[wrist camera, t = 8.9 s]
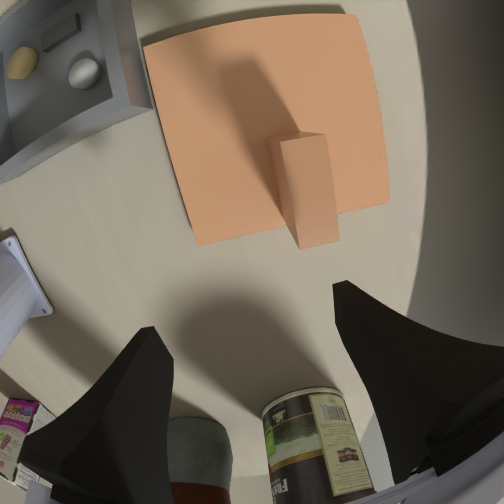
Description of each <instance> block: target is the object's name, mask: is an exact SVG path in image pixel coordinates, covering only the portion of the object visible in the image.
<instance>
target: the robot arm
mask: <svg viewBox="0 0 504 504" xmlns="http://www.w3.org/2000/svg"><path fill="white" fill-rule="evenodd" d="M332 286H333V298H334V311H335V324H336V326H337V329H338V332H339V334H340V337H341V340H342V342H343V345H344V347H345V348H346V350H347V352H348V354H349V356H350V358H351V360H352V362H353V364H354V366H355V368H356V370H357V371H358V373H359V375H360V377H361V379H362V381H363V383H364V385H365V387H366V389H367V392H368V394H369V396H370V399H371V402H372V405H373V407H374V410H375V413H376V416H377V419H378V422H379V425H380V428H381V431H382V435H383V439H384V442H385V446H386V450H387V453H388V457H389V462H390V466H391V471H392V476H393V480H394V483H395V486H393V487H390V488H388V489H385V490H383V491H380V492H378V493H375V494H372V495H369V496H367V497H364V498H361V499H358V500H355V501H352V502H348V503H345V504H397V503H399V502H401V503H400V504H497V503H498V502H499V501H500V500H501V499H502V498H503V497H504V347H501V346H494V345H486V344H480V343H476V342H471V341H467V340H463V339H460V338H456V337H453V336H450V335H447V334H444V333H441V332H438V331H435V330H433V329H430V328H428V327H426V326H424V325H421V324H419V323H417V322H415V321H413V320H410V319H409V318H407V317H405V316H403V315H401V314H399V313H398V312H396V311H394V310H392V309H391V308H389V307H387V306H386V305H384V304H382V303H381V302H379V301H378V300H376V299H375V298H373V297H372V296H370V295H369V294H367V293H366V292H364V291H363V290H361V289H360V288H358V287H357V286H355V285H354V284H352V283H351V282H349V281H348V280H345V281H342V282H338V283H335V284H332ZM52 313H53V308H52V306H51V304H50V303H49V301H48V299H47V298H46V296H45V294H44V292H43V291H42V289H41V287H40V285H39V283H38V281H37V280H36V278H35V276H34V274H33V272H32V270H31V268H30V266H29V264H28V262H27V260H26V257H25V255H24V253H23V251H22V249H21V247H20V244H19V242H18V240H17V238H16V236H14V235H12V236H10V237H8V238H6V239H4V240H3V241H1V242H0V360H1V358H2V356H3V355H4V353H5V352H6V350H7V349H8V347H9V346H10V344H11V343H12V341H13V340H14V338H15V337H16V335H17V334H18V332H19V331H20V330H21V328H22V327H23V325H24V324H25V323H26V321H27V320H28V319H29V318H35V317H40V316H46V315H51V314H52ZM173 379H174V359H173V358H172V356H171V354H170V353H169V351H168V349H167V348H166V346H165V345H164V343H163V341H162V340H161V338H160V336H159V334H158V333H157V331H156V329H155V328H154V326H151V327H145V328H141V329H140V330H139V331H138V332H137V333H136V334H135V335H134V337H133V338H132V339H131V340H130V342H129V343H128V344H127V345H126V347H125V348H124V349H123V350H122V352H121V353H120V354H119V355H118V357H117V358H116V359H115V360H114V362H113V363H112V364H111V365H110V367H109V368H108V369H107V370H106V371H105V373H104V374H103V375H102V376H101V377H100V378H99V380H98V381H97V382H96V383H95V384H94V385H93V386H92V387H91V388H90V389H89V390H88V391H87V392H86V393H85V394H84V395H83V396H82V397H81V398H80V399H79V400H78V401H77V402H76V403H74V404H73V405H72V406H71V407H70V408H68V409H67V410H66V411H65V412H64V413H62V414H61V415H60V416H58V417H57V418H56V419H54V420H53V421H51V422H50V423H48V424H47V425H45V426H43V427H42V428H40V429H38V430H36V431H34V432H33V433H31V434H29V435H27V436H25V438H24V441H23V444H22V447H21V449H20V453H19V456H18V460H19V462H20V463H21V464H22V465H24V466H25V467H26V468H28V469H29V470H31V471H32V472H34V473H35V474H37V475H38V476H40V477H42V478H43V479H45V480H47V481H48V482H50V483H52V484H53V486H52V489H51V488H49V487H47V486H45V485H43V484H40V483H38V482H36V481H34V480H30V481H29V485H28V489H27V494H26V499H25V503H24V504H174V501H173V497H172V492H171V485H170V478H169V470H168V456H167V426H168V418H169V410H170V403H171V395H172V388H173Z"/></svg>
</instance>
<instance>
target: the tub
mask: <svg viewBox="0 0 504 504" xmlns="http://www.w3.org/2000/svg"><path fill="white" fill-rule="evenodd" d="M150 110H153V105H152V101H151V97H150V93H149V89H148V85H147V81H146V76H145V72H144V68H143V63H142V59H141V54H140V49H139V45H138V40H137V35H136V29H135V24H134V19H133V13H132V8H131V2H130V0H21V1H19V2H18V3H17V4H16V5H15V6H13V7H12V8H11V9H10V10H9V11H8V12H6V13H5V14H4V15H3V16H2V17H1V18H0V184H2V183H5V182H7V181H9V180H12V179H14V178H16V177H19V176H21V175H23V174H24V173H26V172H27V171H29V170H30V169H32V168H33V167H35V166H37V165H38V164H40V163H41V162H43V161H45V160H46V159H48V158H50V157H51V156H53V155H55V154H57V153H58V152H60V151H62V150H64V149H66V148H67V147H69V146H71V145H73V144H75V143H77V142H79V141H81V140H83V139H85V138H87V137H89V136H91V135H93V134H95V133H97V132H99V131H101V130H104V129H106V128H108V127H110V126H113V125H115V124H117V123H120V122H122V121H124V120H127V119H129V118H132V117H134V116H137V115H139V114H142V113H145V112H147V111H150Z"/></svg>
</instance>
